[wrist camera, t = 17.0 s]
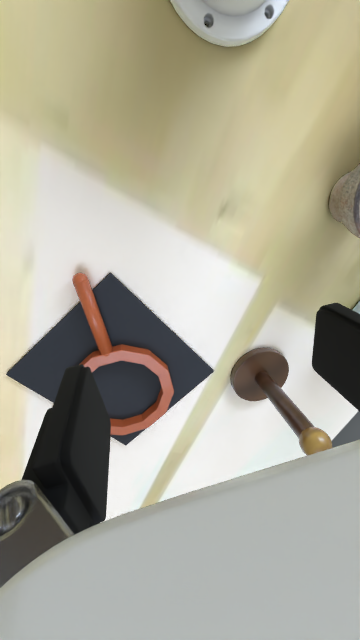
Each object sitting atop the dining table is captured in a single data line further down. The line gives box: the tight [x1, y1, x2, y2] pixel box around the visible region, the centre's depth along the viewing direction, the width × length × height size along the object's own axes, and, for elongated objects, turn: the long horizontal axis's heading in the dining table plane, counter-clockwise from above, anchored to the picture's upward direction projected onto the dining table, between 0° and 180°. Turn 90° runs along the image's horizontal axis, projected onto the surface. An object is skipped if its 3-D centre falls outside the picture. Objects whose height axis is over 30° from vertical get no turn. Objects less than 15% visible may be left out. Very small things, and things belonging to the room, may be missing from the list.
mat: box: [6, 273, 214, 445], centre depth 35 cm, size 20×18×1 cm
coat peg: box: [231, 348, 332, 456], centre depth 33 cm, size 9×9×15 cm
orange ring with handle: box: [72, 273, 174, 435], centre depth 33 cm, size 24×14×2 cm, turn 11°
